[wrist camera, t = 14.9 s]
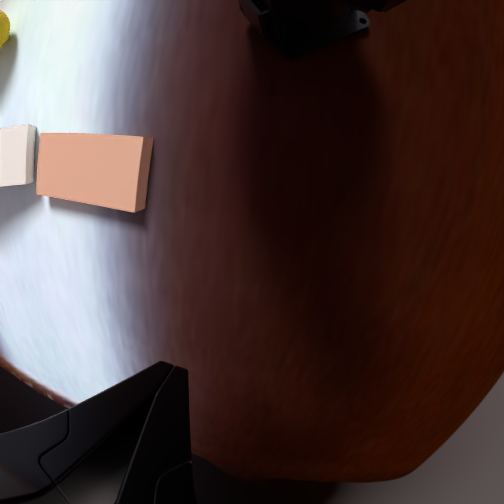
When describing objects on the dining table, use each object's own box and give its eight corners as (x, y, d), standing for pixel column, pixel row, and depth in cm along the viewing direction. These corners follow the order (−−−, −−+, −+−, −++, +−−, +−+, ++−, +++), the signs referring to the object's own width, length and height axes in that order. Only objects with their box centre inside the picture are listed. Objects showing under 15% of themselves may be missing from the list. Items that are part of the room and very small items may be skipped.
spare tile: (143, 136, 17) (40, 133, 18) (134, 212, 19) (36, 194, 20) (156, 138, 19) (56, 132, 20) (147, 207, 21) (51, 190, 21)
